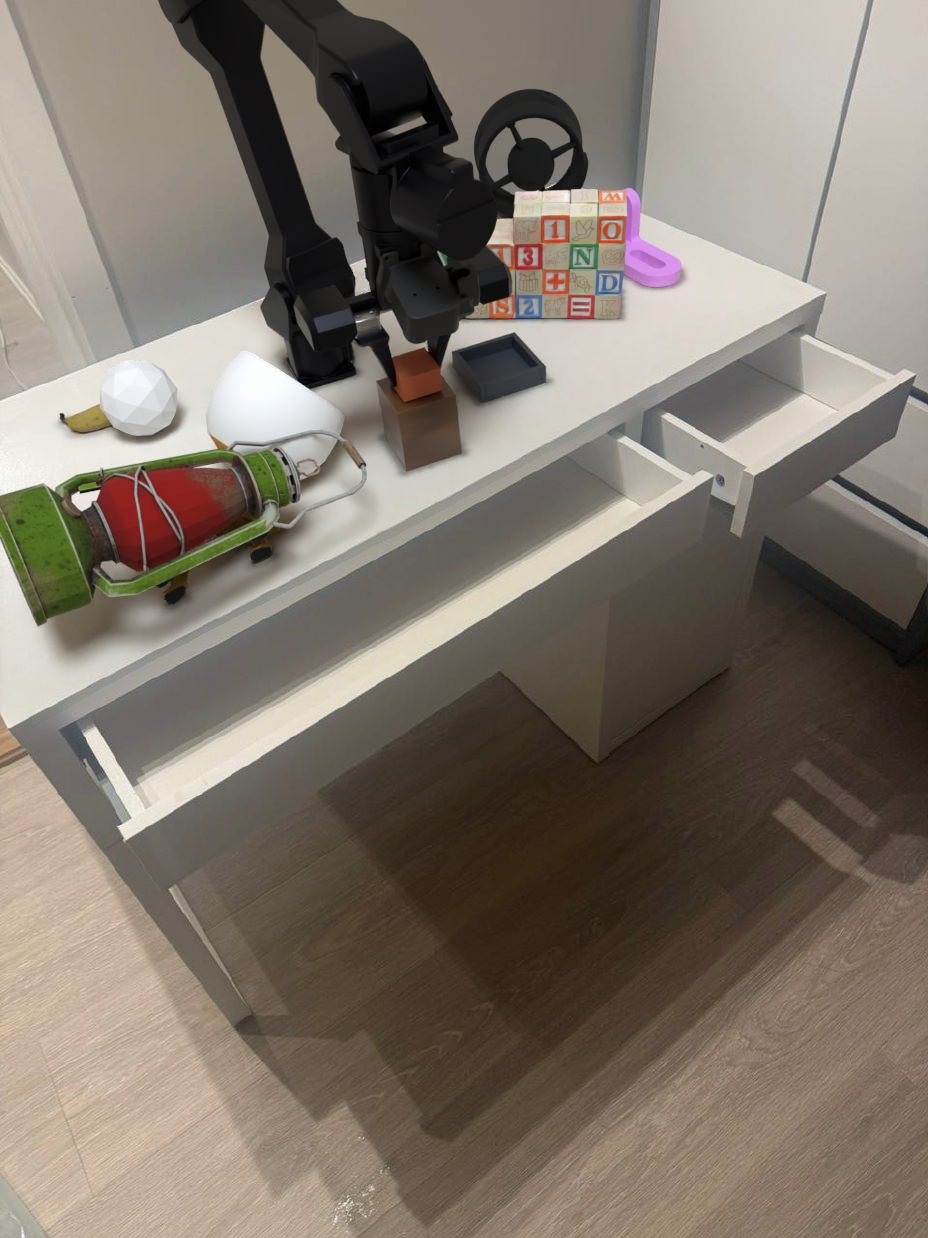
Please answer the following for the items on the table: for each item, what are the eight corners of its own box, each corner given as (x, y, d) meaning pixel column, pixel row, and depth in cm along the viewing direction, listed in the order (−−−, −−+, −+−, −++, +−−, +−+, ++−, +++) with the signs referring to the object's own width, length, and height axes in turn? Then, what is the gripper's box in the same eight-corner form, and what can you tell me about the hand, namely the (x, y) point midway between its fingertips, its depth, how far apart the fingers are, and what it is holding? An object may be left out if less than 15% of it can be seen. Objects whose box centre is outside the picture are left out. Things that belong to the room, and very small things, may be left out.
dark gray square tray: (481, 403, 97) (480, 387, 96) (452, 366, 102) (451, 351, 101) (546, 382, 99) (546, 366, 98) (515, 347, 104) (514, 331, 102)
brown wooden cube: (406, 471, 91) (397, 413, 86) (385, 438, 95) (375, 380, 89) (461, 452, 92) (456, 394, 87) (439, 420, 96) (432, 362, 91)
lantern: (-36, 453, 69) (323, 357, 82) (2, 545, 78) (322, 446, 90) (21, 583, 63) (400, 459, 75) (55, 668, 72) (391, 544, 84)
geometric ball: (167, 435, 102) (184, 365, 99) (167, 454, 95) (186, 379, 92) (94, 415, 99) (111, 342, 96) (89, 433, 92) (106, 355, 89)
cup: (159, 420, 84) (214, 329, 83) (225, 455, 96) (274, 375, 95) (261, 488, 81) (319, 393, 80) (317, 514, 92) (367, 432, 92)
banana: (156, 416, 99) (154, 400, 102) (147, 396, 98) (146, 380, 101) (63, 443, 98) (65, 426, 101) (53, 423, 97) (55, 406, 100)
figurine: (294, 550, 85) (235, 464, 92) (279, 507, 80) (217, 419, 87) (144, 627, 81) (93, 532, 88) (118, 587, 76) (66, 489, 83)
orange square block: (403, 402, 86) (400, 380, 84) (389, 381, 89) (385, 358, 87) (443, 390, 87) (440, 367, 85) (427, 369, 90) (424, 346, 88)
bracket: (585, 252, 117) (586, 197, 112) (618, 237, 119) (621, 183, 114) (655, 292, 109) (660, 235, 104) (689, 275, 111) (696, 219, 106)
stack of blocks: (438, 320, 109) (428, 217, 99) (444, 292, 113) (435, 191, 104) (621, 318, 106) (628, 213, 97) (620, 290, 110) (627, 187, 101)
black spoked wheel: (462, 220, 119) (460, 183, 126) (566, 248, 123) (559, 211, 129) (497, 107, 109) (493, 73, 115) (610, 142, 112) (599, 107, 119)
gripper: (315, 290, 69) (349, 455, 80) (539, 227, 73) (540, 393, 84) (274, 229, 76) (311, 390, 87) (481, 175, 80) (490, 335, 91)
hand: (414, 378), depth 87 cm, fingers closed on orange square block, 4 cm apart
